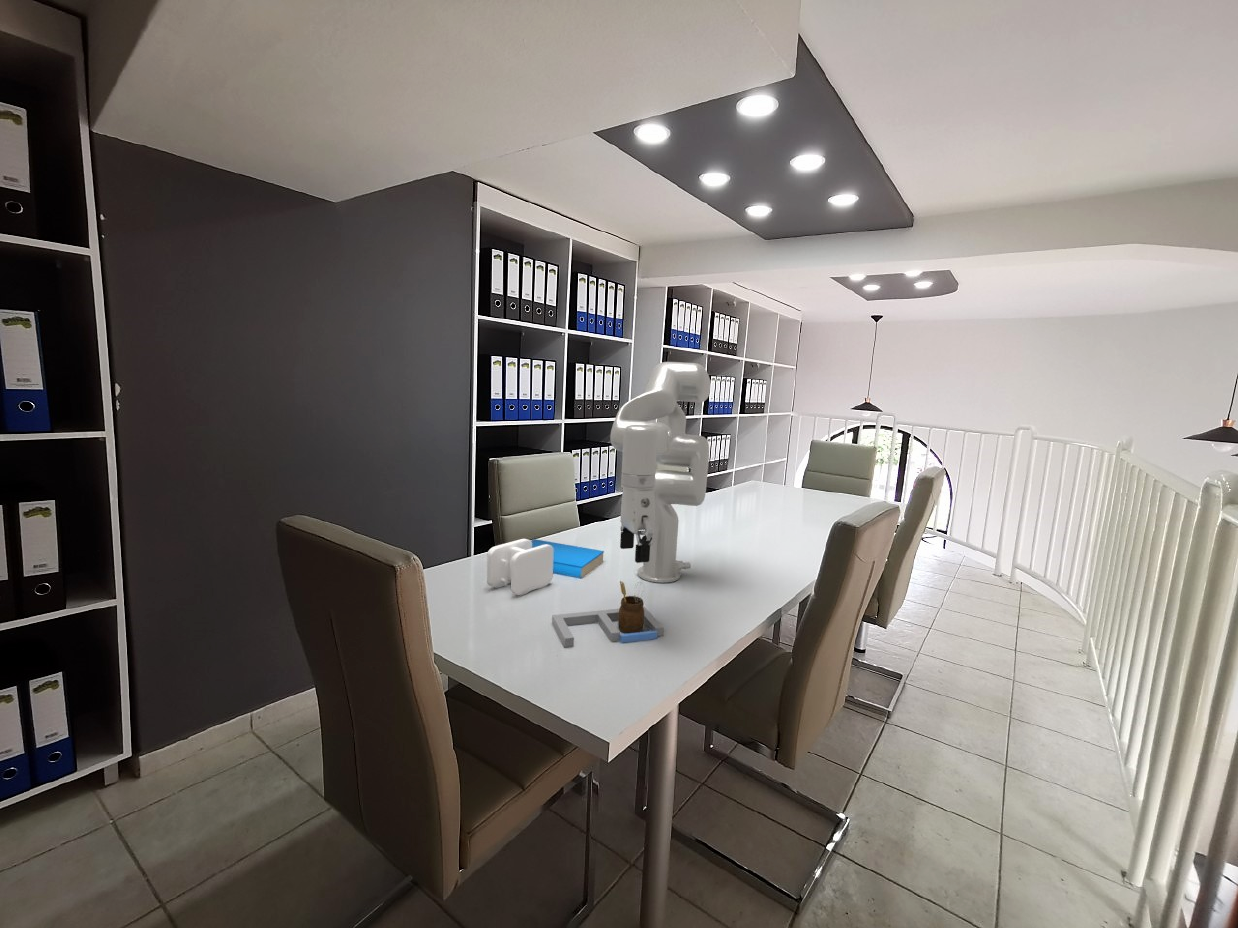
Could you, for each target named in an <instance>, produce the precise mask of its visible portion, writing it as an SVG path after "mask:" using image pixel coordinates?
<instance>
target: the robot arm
mask: <svg viewBox="0 0 1238 928" xmlns="http://www.w3.org/2000/svg"><path fill="white" fill-rule="evenodd" d="M710 392H711V379H710V376H709V374H708V371H707V370H706V368H705V367H704V366H703V365H701V364H700V363H697V362H696V363H695V362H681V361H680V362H679V361H664V362H663V361H662V362H659V363H658V364H656V366H654V367H653V369H652V370H651V373H650V376H649V379H648V383H647V385H646V388H645V389H644V393H640V395H637V396H635V397H634V398H632V399H630V400H628V401H627V402H626V403H624V404H623V405H622V406H621V407H620V408H619V410H618V412H617V414H616V416H615V419H614V420H613V424H612V426H611V427H612V428H611V430H610V438H609V439H610V443H611V446H612V448H613V449H614V450H615V451H618V452H622V461H621V479H620V486H621V487H620V488H622V494H621V502H620V503H621V505H620V523H621V525H620V542H619V544H620V545H619V548H620V549H621V550H624V549H625V550H626V549H633V548H634V546H635V552H634V553H635V555H634V562H635V563H637V564H640V563H641V564H642V566H640V567H639V568H638V569H637V576H638V577H639V578H640V579H643V580H644V581H648V582H652V583H659V584H660V583H673V582H676V581H679V579H680V578H681V572H680V571H682V570H690V569H691V565H692V564H691V562H689V561H688V562H687V561H686V562H683V560H677V550H678V548H677V547H678V533H679V522H680V521H679V516H678V514H677V511H676V510H675V509H674V507H673V505H679V506H680V505H681V506H688V507H689V506H690V507H698V506H700V505H702V504H703V503H704V501H705V499H706V498H705V497H706V492H707V482H708V471H709V460H710V445H709V441H708V440H707V438H706V437H705V436H702V435H697V434H686V429H687V427H686V426H687V416H686V414H685V412H684V411H683V409H682V407H681V406H679V404H678V402H686V403H687V402H689V403H703V402H705V401H706V400H708V398H709V396H710ZM654 420H656V421H654ZM657 464H659V465H661V466H662V465H663V466H668V467H669V466H670V467H677V468H678V467H679V468H687V469H688V468H689V469H691V471H682V470H681V471H679V470H672V469H657ZM641 536H642V537H641ZM635 537H636V542H637V544H635ZM634 544H635V545H634Z"/></svg>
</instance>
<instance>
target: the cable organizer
mask: <svg viewBox="0 0 1238 928" xmlns="http://www.w3.org/2000/svg"><path fill="white" fill-rule="evenodd" d="M531 541H532V540H530V539H527V538H521V539H517V540H513V541H509V542H506V543H502V544H498V545H495V546H492V547H491V548H490V549H489V550H488V551H487V558H486V560H487V561H486V569H487V570H486V584H487V586H490V587H492V588H498V589H499V588H501V587H504V586H508V584H510V591H511V592H512V594H514V595H517V596H524V595H525V594H529V593H530V592H531V591H533V590H536V589H537V590H539V589H541V588H544V587H546V586H547V585H548V584H550V583H551V582H552V580H553V576H554V573H553V554H554V549H553V547H552V546H551V545H547V544H545V545H541V546H538V547H534V548H532V542H531ZM523 594H524V595H523Z"/></svg>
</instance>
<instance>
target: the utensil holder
mask: <svg viewBox="0 0 1238 928" xmlns="http://www.w3.org/2000/svg"><path fill="white" fill-rule="evenodd" d="M619 583H620V584H619V586H620V591H621V594H622V595H623V597H621V601H620V607H619V608H618V609H619V618H618V620H617V622H618V623H617V625H618V630H619V631H620V632H623V634H629V633H637V632H643V629H644V626H645V624H644V608H643V606H644V600H643V597H644V594H645V593H644V591H645V589H646V588H645V586H646V585H645V584H643V582H642V581H639V583H640V584H639V583H636V584H635V587H637V586H639V587H638V589H641V585H642V584H643V587H642V591H641V590H638V591H637V592H638V594H637V596H636V595H627V591H626V585H625V583H624V582H623V581H621V580H620V581H619ZM638 584H639V585H638ZM640 591H641V593H642V594H641V596H640V597H639V595H640Z"/></svg>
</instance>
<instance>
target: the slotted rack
mask: <svg viewBox="0 0 1238 928" xmlns="http://www.w3.org/2000/svg"><path fill="white" fill-rule="evenodd" d="M643 608H644V626H645V625H646V626H647V627H646V626H645V627H646V628H647V629H648V630H647V631H641V632H637V633H629V634H628V633H622V634H621V630H620V629H619V628H617V626H616V625H615V624H614V622H615V621H618V618H619V608H611V609H601V610H591V611H583V612H581V611H579V612H570V613H560V614H553V615H552V617H551V624H552V626H553V627H554V630H555V631H556V634H557V636H558V638H559V640H560V642H561V643H562V646H563V647H564V648H570V647H571V648H572V647H575V646H574V645H575V644H574V643H575V637H574V635H573V634H572V632H571V629H570V628H569V626H574V625H575V626H576V625H584V624H585V625H586V624H594V623H596V622H597V624H598V625H599V626H600V628H601V630H602V631H603V632H604V633H605V635H606V637H607V638H608V639H609V641H610V642H620V644H624V643H630V642H631V643H632V642H641V641H647V640H648V641H650V640H657V639H658V637H664V631H665V630H664V626H663V625H662V624H661V623H660V622H659V620H657V618H656V617H655V616H654V615H653V614H652V613H651V612H650V611H649V610H648V609H647V608H646V607H645V606H644V605H643Z"/></svg>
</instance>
